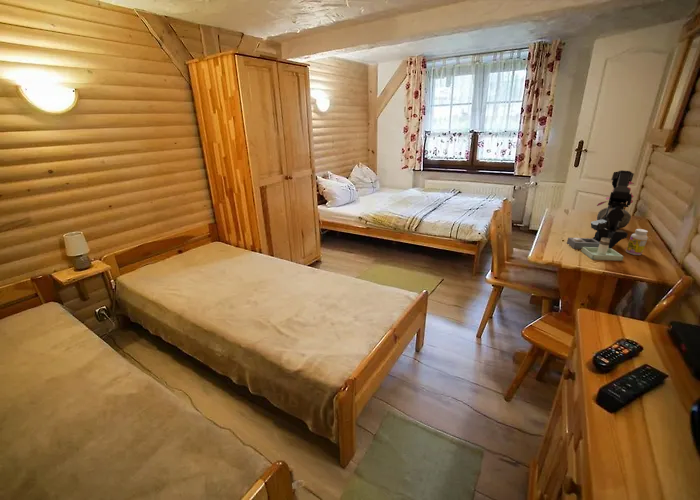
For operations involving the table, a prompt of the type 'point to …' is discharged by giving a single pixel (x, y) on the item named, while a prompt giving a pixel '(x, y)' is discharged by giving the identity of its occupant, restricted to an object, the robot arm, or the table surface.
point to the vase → (626, 215)
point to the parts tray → (609, 256)
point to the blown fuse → (603, 246)
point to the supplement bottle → (637, 242)
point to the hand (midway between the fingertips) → (604, 244)
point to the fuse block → (582, 242)
